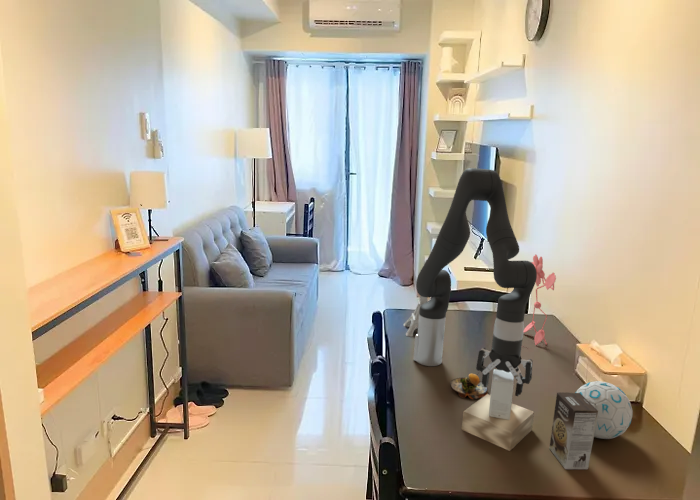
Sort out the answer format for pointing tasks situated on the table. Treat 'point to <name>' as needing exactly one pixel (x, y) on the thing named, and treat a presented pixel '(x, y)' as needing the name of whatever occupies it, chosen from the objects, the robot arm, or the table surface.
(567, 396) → the coffee box
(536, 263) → the pink flower figurine
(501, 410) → the small box
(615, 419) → the white soccer ball
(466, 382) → the plate of food
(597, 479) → the table surface
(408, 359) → the table surface
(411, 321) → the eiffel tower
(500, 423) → the maple block
